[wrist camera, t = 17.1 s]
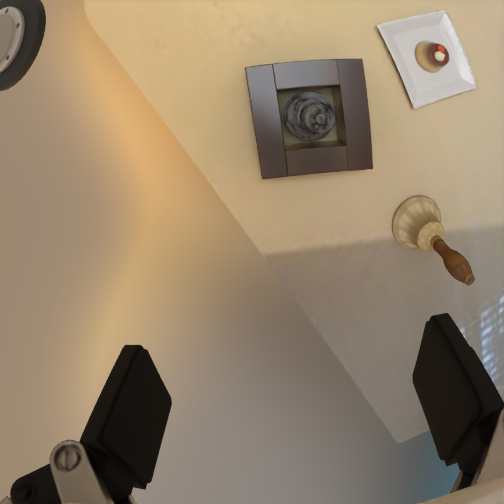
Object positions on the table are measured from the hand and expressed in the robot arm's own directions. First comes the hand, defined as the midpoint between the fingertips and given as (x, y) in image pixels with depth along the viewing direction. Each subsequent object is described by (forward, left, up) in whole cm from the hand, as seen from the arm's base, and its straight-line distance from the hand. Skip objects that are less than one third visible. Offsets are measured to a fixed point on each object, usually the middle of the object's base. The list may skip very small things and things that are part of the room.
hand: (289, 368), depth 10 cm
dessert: (+23, +14, -34) cm, 43 cm away
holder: (+5, +6, -33) cm, 34 cm away
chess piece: (+5, +6, -34) cm, 34 cm away
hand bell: (+20, -10, -34) cm, 40 cm away
